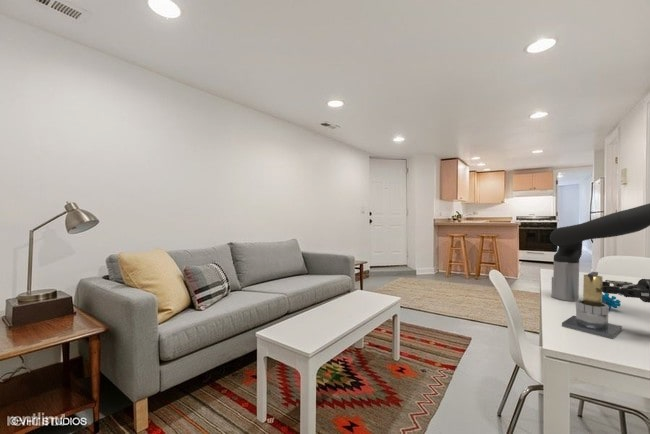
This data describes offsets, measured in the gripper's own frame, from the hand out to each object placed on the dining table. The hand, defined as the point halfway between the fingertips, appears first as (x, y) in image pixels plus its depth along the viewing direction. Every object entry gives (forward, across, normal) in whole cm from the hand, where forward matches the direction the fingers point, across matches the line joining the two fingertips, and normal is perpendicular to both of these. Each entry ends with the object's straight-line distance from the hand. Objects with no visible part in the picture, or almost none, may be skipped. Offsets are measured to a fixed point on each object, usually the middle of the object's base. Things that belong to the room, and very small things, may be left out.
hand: (596, 286), depth 101 cm
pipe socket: (+1, 0, +14) cm, 15 cm away
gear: (-12, -29, +15) cm, 35 cm away
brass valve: (+1, 0, +8) cm, 9 cm away
